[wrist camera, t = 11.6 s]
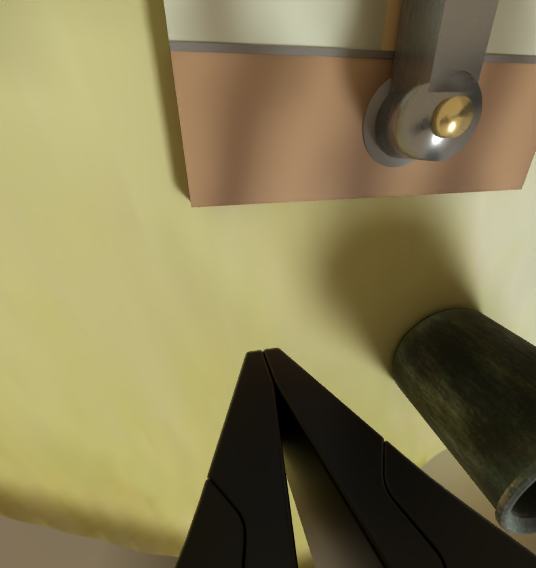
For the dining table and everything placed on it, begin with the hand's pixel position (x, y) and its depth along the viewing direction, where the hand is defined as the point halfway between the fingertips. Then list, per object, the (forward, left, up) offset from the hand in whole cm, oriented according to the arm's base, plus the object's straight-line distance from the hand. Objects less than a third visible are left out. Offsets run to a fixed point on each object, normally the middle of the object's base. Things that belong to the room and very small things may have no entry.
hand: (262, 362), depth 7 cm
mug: (-20, +14, -12) cm, 27 cm away
